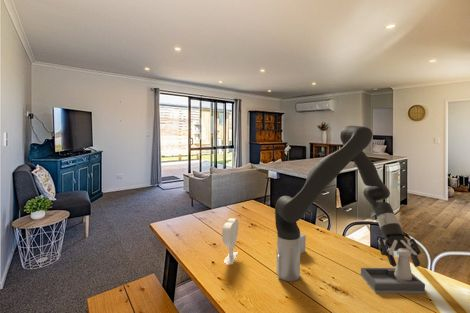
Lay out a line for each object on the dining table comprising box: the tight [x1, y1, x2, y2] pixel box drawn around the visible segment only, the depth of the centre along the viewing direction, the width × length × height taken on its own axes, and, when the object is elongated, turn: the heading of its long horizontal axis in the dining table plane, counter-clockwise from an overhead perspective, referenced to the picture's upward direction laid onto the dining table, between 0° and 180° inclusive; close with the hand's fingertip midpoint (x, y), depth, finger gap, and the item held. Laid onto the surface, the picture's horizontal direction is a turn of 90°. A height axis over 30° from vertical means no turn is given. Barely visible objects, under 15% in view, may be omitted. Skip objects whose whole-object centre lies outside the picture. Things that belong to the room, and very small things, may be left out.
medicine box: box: [300, 233, 307, 255], centre depth 122 cm, size 8×4×9 cm, turn 135°
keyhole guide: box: [359, 267, 426, 295], centre depth 96 cm, size 18×12×3 cm, turn 87°
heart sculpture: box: [221, 217, 239, 265], centre depth 118 cm, size 16×5×18 cm, turn 165°
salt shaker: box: [394, 248, 413, 282], centre depth 96 cm, size 6×6×13 cm
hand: (406, 266), depth 94 cm, fingers open, 8 cm apart
